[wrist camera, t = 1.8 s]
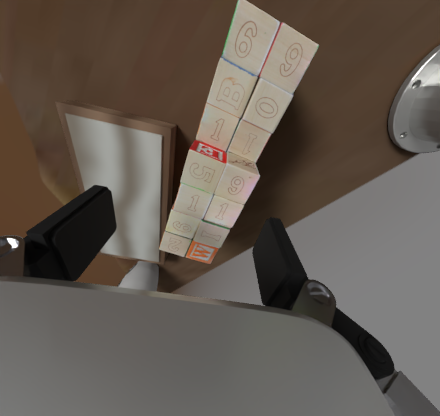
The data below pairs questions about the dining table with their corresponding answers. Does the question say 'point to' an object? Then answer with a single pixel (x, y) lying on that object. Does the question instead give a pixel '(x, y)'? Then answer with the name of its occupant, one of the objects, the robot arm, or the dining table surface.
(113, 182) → the picture frame
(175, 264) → the dining table surface
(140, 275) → the cup
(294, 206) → the dining table surface
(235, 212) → the stack of blocks
